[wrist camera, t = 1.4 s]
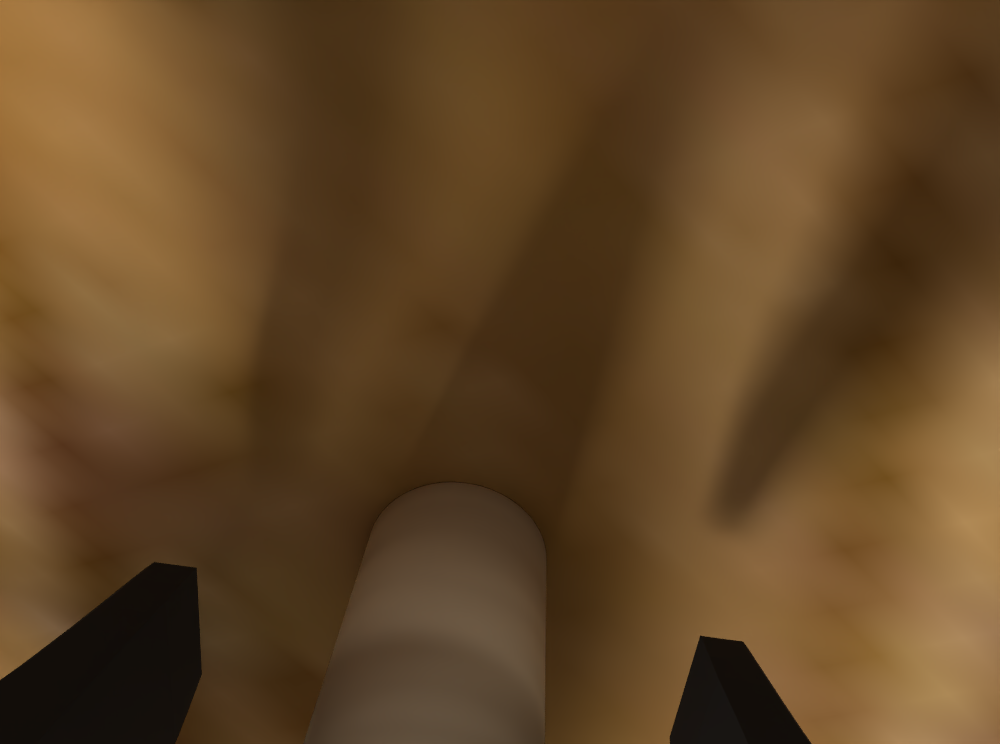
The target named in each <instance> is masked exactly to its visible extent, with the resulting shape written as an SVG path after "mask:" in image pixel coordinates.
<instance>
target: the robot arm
mask: <svg viewBox="0 0 1000 744" xmlns="http://www.w3.org/2000/svg"><path fill="white" fill-rule="evenodd" d="M201 675H202V670H201V649H200V628H199V608H198V587H197V568H194V567H187V566H179V565H172V564H164V563H157V562H154V563H152V564H151V565H149V566H148V567H147V568H145V569H144V570H143V571H142V572H140V573H139V574H138V575H136V576H135V577H134V578H132V579H131V580H130V581H129V582H127V583H126V584H125V585H124V586H122V587H121V588H120V589H119V590H117V591H116V592H115V593H114V594H112V595H111V596H110V597H109V598H107V599H106V600H105V601H104V602H102V603H101V604H100V605H99V606H97V607H96V608H95V609H94V610H92V611H91V612H90V613H89V614H87V615H86V616H85V617H83V618H82V619H81V620H80V621H78V622H77V623H76V624H75V625H73V626H72V627H71V628H69V629H68V630H67V631H66V632H64V633H63V634H62V635H60V636H59V637H58V638H56V639H55V640H54V641H52V642H51V643H50V644H48V645H47V646H46V647H44V648H43V649H42V650H41V651H39V652H38V653H37V654H35V655H34V656H33V657H31V658H30V659H29V660H27V661H26V662H25V663H23V664H22V665H21V666H19V667H18V668H17V669H15V670H14V671H12V672H11V673H10V674H8V675H7V676H5V677H4V678H2V679H1V680H0V744H175V742H176V740H177V737H178V735H179V732H180V730H181V727H182V725H183V722H184V720H185V717H186V715H187V712H188V710H189V707H190V704H191V701H192V699H193V696H194V693H195V691H196V688H197V685H198V683H199V680H200V677H201ZM670 744H811V742H810V741H809V739H808V738H807V736H806V735H805V734H804V732H803V731H802V729H801V728H800V726H799V725H798V723H797V722H796V720H795V719H794V717H793V716H792V714H791V713H790V711H789V710H788V708H787V707H786V705H785V704H784V703H783V701H782V700H781V698H780V696H779V695H778V693H777V692H776V690H775V689H774V687H773V686H772V684H771V683H770V681H769V680H768V678H767V677H766V675H765V674H764V672H763V670H762V669H761V667H760V666H759V664H758V663H757V661H756V660H755V658H754V657H753V655H752V654H751V652H750V651H749V649H748V648H747V646H746V645H745V644H744V642H742V641H734V640H727V639H719V638H712V637H705V636H700V639H699V642H698V645H697V649H696V652H695V655H694V658H693V662H692V665H691V668H690V672H689V675H688V678H687V682H686V685H685V688H684V692H683V695H682V698H681V702H680V705H679V708H678V712H677V715H676V718H675V722H674V725H673V728H672V731H671V735H670Z"/></svg>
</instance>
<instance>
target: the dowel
mask: <svg viewBox="0 0 1000 744" xmlns="http://www.w3.org/2000/svg"><path fill="white" fill-rule="evenodd" d="M545 670H546V549H545V545H544V541H543V538H542V536H541V533H540V531H539V529H538V528H537V526H536V524H535V523H534V521H533V520H532V519H531V517H530V516H529V515H528V514H527V513H526V512H525V511H524V510H523V509H522V508H521V507H520V506H519V505H517V504H516V503H515V502H513V501H512V500H511V499H509V498H507V497H505V496H504V495H502V494H500V493H498V492H495V491H493V490H491V489H488V488H485V487H481V486H478V485H473V484H468V483H457V482H447V483H436V484H430V485H426V486H422V487H419V488H416V489H414V490H411V491H409V492H407V493H405V494H403V495H401V496H400V497H398V498H397V499H395V500H394V501H393V502H391V503H390V504H389V505H388V506H387V507H386V508H385V509H384V510H383V511H382V513H381V514H380V515H379V517H378V518H377V520H376V522H375V524H374V526H373V528H372V531H371V534H370V537H369V540H368V543H367V546H366V549H365V553H364V556H363V559H362V562H361V565H360V568H359V571H358V574H357V577H356V581H355V584H354V587H353V590H352V593H351V596H350V599H349V602H348V606H347V609H346V612H345V615H344V618H343V621H342V624H341V627H340V631H339V634H338V637H337V640H336V643H335V646H334V649H333V652H332V656H331V659H330V662H329V665H328V668H327V671H326V674H325V677H324V681H323V684H322V687H321V690H320V693H319V696H318V699H317V702H316V706H315V709H314V712H313V715H312V718H311V721H310V724H309V727H308V731H307V734H306V737H305V740H304V743H303V744H545Z"/></svg>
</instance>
